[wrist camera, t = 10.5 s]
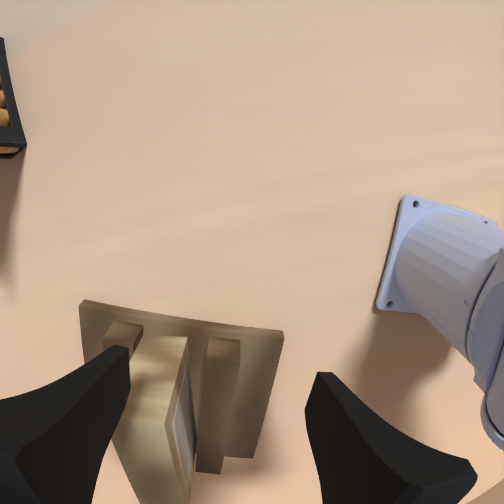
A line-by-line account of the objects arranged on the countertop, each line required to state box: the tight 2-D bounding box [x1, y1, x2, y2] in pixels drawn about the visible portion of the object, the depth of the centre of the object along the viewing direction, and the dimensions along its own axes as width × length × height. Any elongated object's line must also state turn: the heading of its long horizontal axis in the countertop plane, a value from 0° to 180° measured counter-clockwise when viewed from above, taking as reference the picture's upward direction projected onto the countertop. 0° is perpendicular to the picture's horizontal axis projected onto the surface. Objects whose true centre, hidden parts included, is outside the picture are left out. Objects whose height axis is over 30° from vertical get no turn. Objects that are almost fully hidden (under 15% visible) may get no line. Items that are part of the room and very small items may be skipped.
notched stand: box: [79, 300, 284, 474], centre depth 21 cm, size 14×13×4 cm
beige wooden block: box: [111, 334, 197, 504], centre depth 17 cm, size 3×10×8 cm, turn 178°
